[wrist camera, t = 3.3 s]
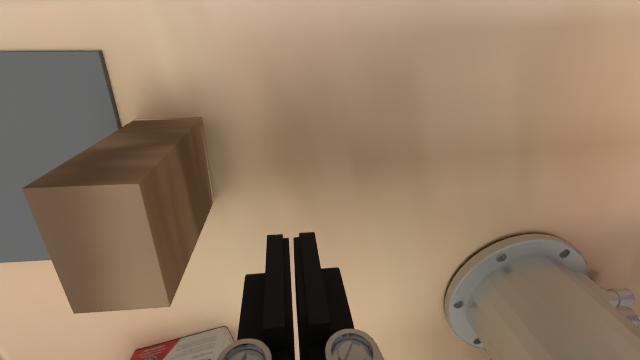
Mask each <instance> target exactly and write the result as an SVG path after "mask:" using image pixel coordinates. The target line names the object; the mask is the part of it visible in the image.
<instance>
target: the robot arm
mask: <svg viewBox="0 0 640 360" xmlns="http://www.w3.org/2000/svg"><path fill="white" fill-rule="evenodd" d="M294 262H295V287H296V307H297V322H298V337H299V351H300V360H384V358H383V356H382V354H381V352H380V350H379V348H378V346H377V344H376V343H375V341H374V340H373V338H372V337H370V336H369V335H368V334H367V333H365V332H363V331H360V330H357V329H354V325H353V321H352V317H351V313H350V309H349V305H348V301H347V297H346V293H345V289H344V285H343V281H342V277H341V273H340V270H339V268H325V269H321V266H320V261H319V255H318V250H317V244H316V238H315V233H314V232H309V233H299V237H295V238H294ZM634 300H635V299H634V296H633V294H632V293H631V292H630V291H629V290H627V289H610V290H607V291H604V290H603V289H602V288H601V287H600V286H598V285H597V284H596V283H595V282H593V281H592V280H591V279H590V278H589V277H588V268H587V264H586V261H585V260H584V258H583V257H582V255H581V254H580V253H579V252H578V251H577V250H576V249H575V248H573V247H572V246H571V245H570V244H568V243H566V242H565V241H563V240H562V239H560V238H557V237H554V236H551V235H544V234H524V235H519V236H515V237H510V238H507V239H504V240H502V241H499V242H496V243H494V244H492V245H491V246H489V247H487V248H485V249H483V250H482V251H480V252H479V253H477V254H476V255H475V256H473V257H472V258H471V259H470V260H469V261H468V262H467V263H466V264H465V265H464V266H463V267H461V269H460V270H459V271H458V273H457V274H456V275H455V277H454V278H453V280H452V282H451V284H450V286H449V288H448V290H447V293H446V297H445V308H444V310H445V314H446V318H447V320H448V322H449V324H450V326H451V328H452V330H453V331H454V332H455V334H456V335H457V336H458V337H459V338H460V339H461V340H463V341H464V342H465V343H467V344H470V345H472V346H474V347H479V348H483V349H485V350H486V351H487V353H488V354H489V356H490V358H491V359H492V360H640V328H638V326H639V319H638V317H637V315H636V313H635V312H634V311H633V310H632V309H630V308H628V307H624V306H629V305H632V304H634ZM616 306H620V307H616ZM217 360H295V351H294V329H293V310H292V291H291V272H290V253H289V238H283V234H279V235H267V249H266V270H265V273H261V274H248V275H246V276H245V282H244V290H243V298H242V306H241V314H240V322H239V330H238V338H237V341H235V342H233V343H231V344H230V345H228V346H227V347H226V348H225V349H224V350H223V351H222V352H221V353H220V354H219V356H218V358H217Z"/></svg>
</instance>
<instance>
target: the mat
mask: <svg viewBox="0 0 640 360" xmlns="http://www.w3.org/2000/svg"><path fill="white" fill-rule="evenodd" d="M119 129H121V124H120V121H119V117H118V113H117V109H116V105H115V101H114V97H113V93H112V89H111V85H110V81H109V78H108V74H107V70H106V66H105V62H104V58H103V54H102V51H24V52H0V263H4V262H22V261H39V260H51V258H50V255H49V253H48V250H47V248H46V246H45V243H44V241H43V238H42V236H41V234H40V231H39V229H38V226H37V224H36V222H35V219H34V217H33V214H32V212H31V210H30V207H29V205H28V202H27V200H26V198H25V195H24V193H23V190H22V188H23V187H25V186H26V185H28V184H30V183H31V182H33V181H35V180H36V179H38V178H40V177H41V176H43V175H45V174H46V173H48V172H50V171H51V170H53V169H55V168H56V167H58V166H59V165H61V164H63V163H64V162H66V161H68V160H69V159H71V158H73V157H74V156H76V155H78V154H79V153H81V152H83V151H84V150H86V149H88V148H89V147H91V146H92V145H94V144H96V143H97V142H99V141H101V140H102V139H104V138H106V137H107V136H109V135H111V134H112V133H114V132H116V131H117V130H119Z"/></svg>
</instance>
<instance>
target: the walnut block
mask: <svg viewBox="0 0 640 360" xmlns="http://www.w3.org/2000/svg"><path fill="white" fill-rule="evenodd" d="M22 190H23V193H24V195H25V198H26V200H27V202H28V205H29V207H30V210H31V212H32V214H33V217H34V219H35V222H36V224H37V226H38V229H39V231H40V234H41V236H42V238H43V241H44V243H45V246H46V248H47V250H48V253H49V255H50V258H51V260H52V262H53V265H54V267H55V270H56V272H57V274H58V277H59V279H60V282H61V284H62V286H63V289H64V291H65V294H66V296H67V298H68V301H69V303H70V306H71V308H72V310H73V313H74V314H75V313H89V312H103V311H118V310H132V309H146V308H160V307H170V305H171V303H172V300H173V298H174V296H175V293H176V291H177V288H178V286H179V284H180V281H181V279H182V276H183V274H184V272H185V269H186V267H187V264H188V262H189V259H190V257H191V255H192V252H193V250H194V247H195V245H196V243H197V240H198V238H199V235H200V233H201V231H202V228H203V226H204V223H205V221H206V219H207V216H208V214H209V211H210V209H211V207H212V204H213V202H214V197H213V190H212V184H211V177H210V171H209V164H208V157H207V151H206V144H205V137H204V131H203V124H202V118H158V119H135V120H134V121H132V122H130V123H129V124H127V125H126V126H124V127H122V128H121V129H119V130H117V131H116V132H114V133H112V134H111V135H109V136H107V137H106V138H104V139H102V140H101V141H99V142H97V143H96V144H94V145H92V146H91V147H89V148H88V149H86V150H84V151H83V152H81V153H79V154H78V155H76V156H74V157H73V158H71V159H69V160H68V161H66V162H64V163H63V164H61V165H59V166H58V167H56V168H55V169H53V170H51V171H50V172H48V173H46V174H45V175H43V176H41V177H40V178H38V179H36V180H35V181H33V182H31V183H30V184H28V185H26V186H25V187H23V188H22Z"/></svg>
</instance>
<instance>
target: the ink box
mask: <svg viewBox="0 0 640 360" xmlns="http://www.w3.org/2000/svg"><path fill="white" fill-rule="evenodd" d="M233 342H234V341H233V339H232V337H231V335H230V333H229V331H228V329H227V328H226V327H220V328H217V329H213V330H210V331H206V332H203V333H199V334H195V335H192V336H188V337H184V338H181V339H177V340H173V341H170V342H166V343H163V344H159V345H155V346H152V347H148V348H144V349H141V350H137V351H135V352H134V353H133V355H132V357H131V360H217V358H218V356H219V354H220V353H221V352H222V351H223V350H224V349H225V348H226V347H227V346H228V345H230V344H231V343H233Z"/></svg>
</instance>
